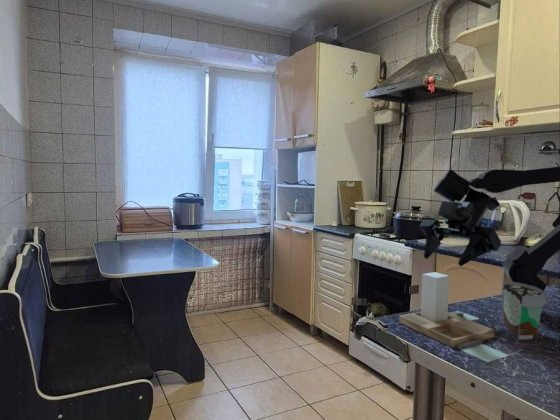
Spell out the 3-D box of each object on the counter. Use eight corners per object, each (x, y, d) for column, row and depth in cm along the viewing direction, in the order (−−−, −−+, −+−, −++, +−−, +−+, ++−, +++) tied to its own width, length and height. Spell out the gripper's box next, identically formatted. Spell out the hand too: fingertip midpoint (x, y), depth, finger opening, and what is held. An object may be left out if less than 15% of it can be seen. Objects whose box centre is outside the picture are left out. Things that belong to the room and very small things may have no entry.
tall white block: (432, 318, 94) (434, 272, 93) (447, 323, 91) (449, 275, 90) (420, 321, 92) (422, 274, 91) (434, 326, 89) (436, 278, 88)
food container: (555, 348, 79) (558, 298, 78) (520, 345, 80) (523, 296, 80) (529, 325, 91) (532, 282, 90) (500, 323, 92) (502, 280, 92)
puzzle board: (456, 312, 100) (456, 304, 100) (548, 346, 80) (548, 336, 80) (398, 324, 92) (399, 315, 92) (485, 365, 72) (486, 354, 72)
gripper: (425, 188, 104) (394, 234, 99) (496, 191, 89) (465, 245, 84) (442, 217, 109) (414, 261, 104) (513, 224, 94) (484, 277, 89)
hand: (441, 261), depth 95 cm, fingers open, 9 cm apart
